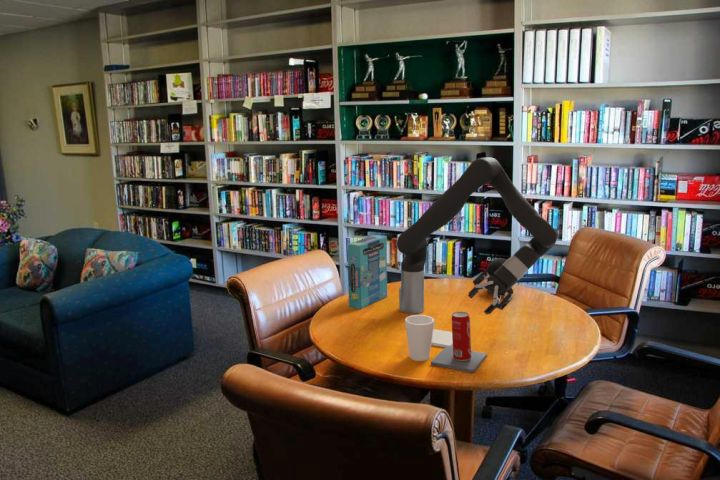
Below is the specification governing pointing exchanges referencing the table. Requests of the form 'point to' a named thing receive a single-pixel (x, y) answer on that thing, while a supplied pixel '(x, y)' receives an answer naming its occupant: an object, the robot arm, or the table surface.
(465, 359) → the beverage can
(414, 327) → the foam cup
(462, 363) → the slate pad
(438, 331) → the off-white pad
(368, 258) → the game box
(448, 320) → the table surface
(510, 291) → the ball on round base
